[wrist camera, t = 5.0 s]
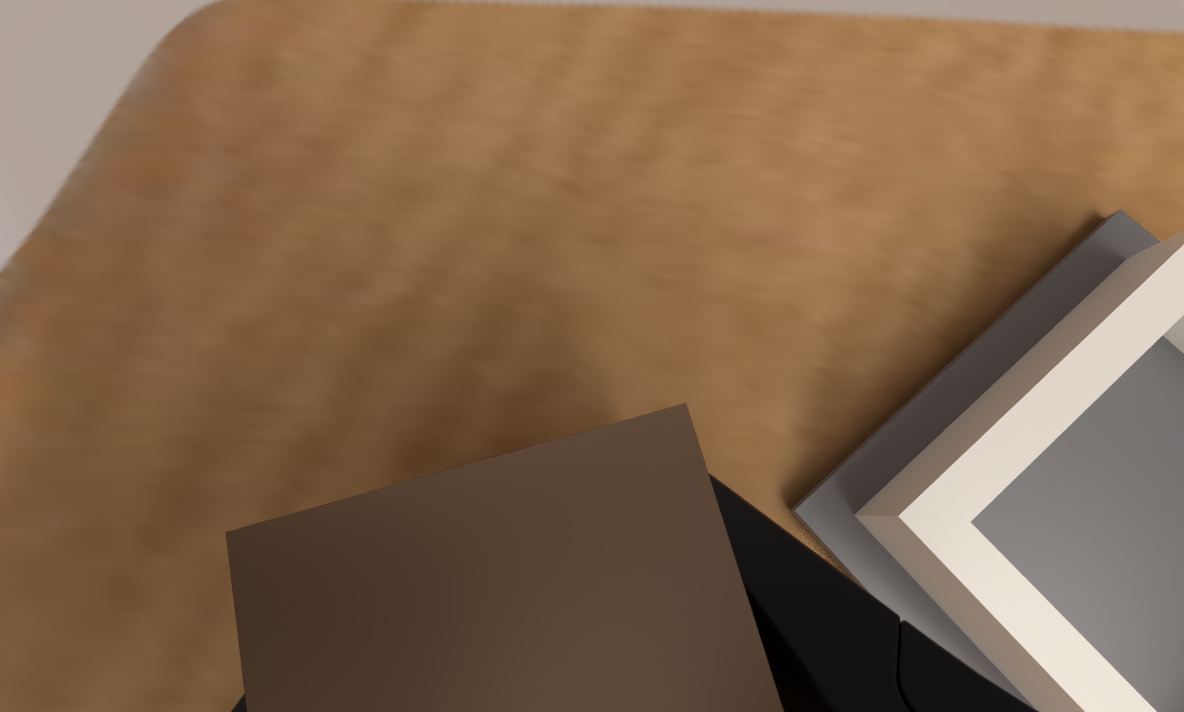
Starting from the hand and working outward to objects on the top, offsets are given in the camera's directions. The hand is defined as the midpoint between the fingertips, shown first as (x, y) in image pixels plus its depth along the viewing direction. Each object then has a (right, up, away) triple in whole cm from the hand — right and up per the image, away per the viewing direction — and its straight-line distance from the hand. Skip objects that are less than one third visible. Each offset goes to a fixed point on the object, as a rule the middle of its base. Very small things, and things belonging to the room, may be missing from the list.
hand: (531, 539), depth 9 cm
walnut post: (+1, -3, +6) cm, 7 cm away
